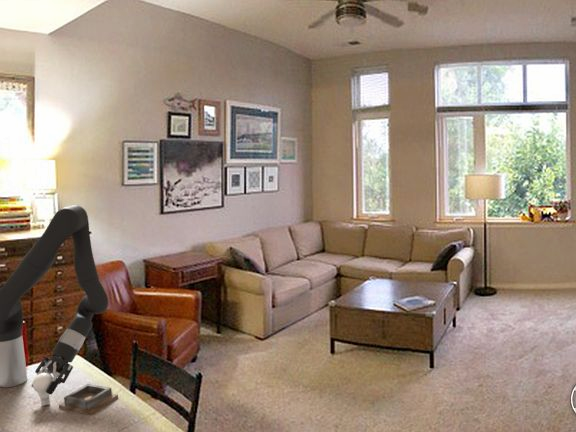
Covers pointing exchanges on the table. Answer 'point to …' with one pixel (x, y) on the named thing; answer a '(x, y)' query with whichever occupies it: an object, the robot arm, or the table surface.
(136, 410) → the table surface
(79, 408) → the bulb stand
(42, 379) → the lightbulb
